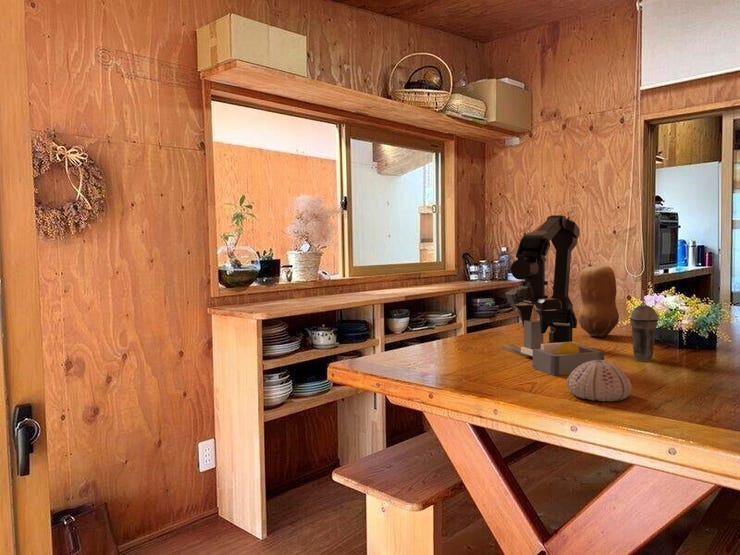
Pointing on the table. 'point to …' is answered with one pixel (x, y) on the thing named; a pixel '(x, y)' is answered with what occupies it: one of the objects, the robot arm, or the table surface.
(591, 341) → the table surface
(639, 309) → the beverage cup
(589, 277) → the butternut squash
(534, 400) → the table surface
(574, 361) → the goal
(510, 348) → the rail
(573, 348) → the lemon
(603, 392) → the sea urchin shell
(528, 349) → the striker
